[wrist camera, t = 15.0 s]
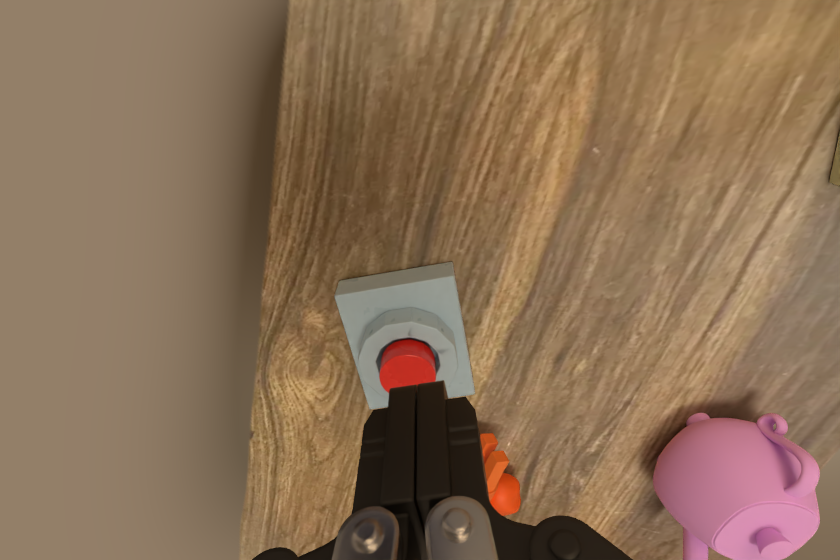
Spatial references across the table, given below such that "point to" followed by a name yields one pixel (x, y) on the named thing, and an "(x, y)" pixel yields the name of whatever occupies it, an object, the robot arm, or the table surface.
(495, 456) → the orange fox minifigure
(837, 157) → the plate
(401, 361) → the bell button
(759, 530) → the teapot
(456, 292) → the grey button base
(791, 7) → the table surface
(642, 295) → the table surface
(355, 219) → the table surface
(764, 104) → the table surface
